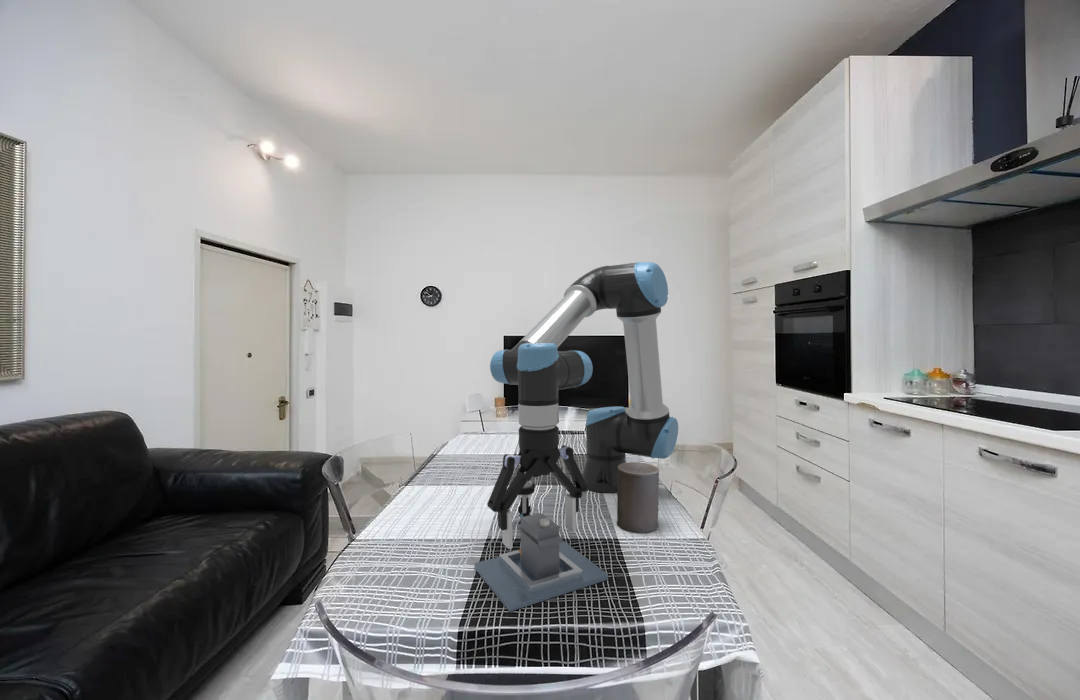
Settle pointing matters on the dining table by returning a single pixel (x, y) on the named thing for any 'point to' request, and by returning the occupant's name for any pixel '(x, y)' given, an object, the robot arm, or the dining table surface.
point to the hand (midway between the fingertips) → (540, 537)
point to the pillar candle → (637, 497)
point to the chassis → (525, 589)
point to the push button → (525, 499)
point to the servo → (540, 545)
